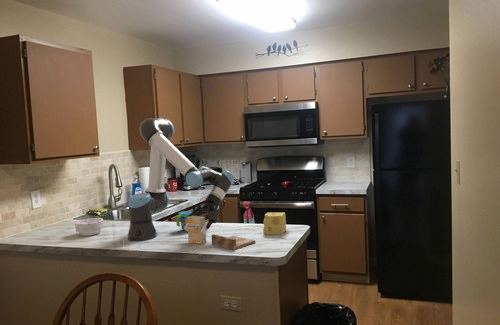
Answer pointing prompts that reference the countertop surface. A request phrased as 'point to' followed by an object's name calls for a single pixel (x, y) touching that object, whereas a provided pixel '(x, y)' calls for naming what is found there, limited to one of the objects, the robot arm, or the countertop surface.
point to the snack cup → (183, 219)
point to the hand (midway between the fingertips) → (193, 231)
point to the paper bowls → (89, 226)
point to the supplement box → (196, 229)
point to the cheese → (274, 223)
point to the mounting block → (231, 241)
